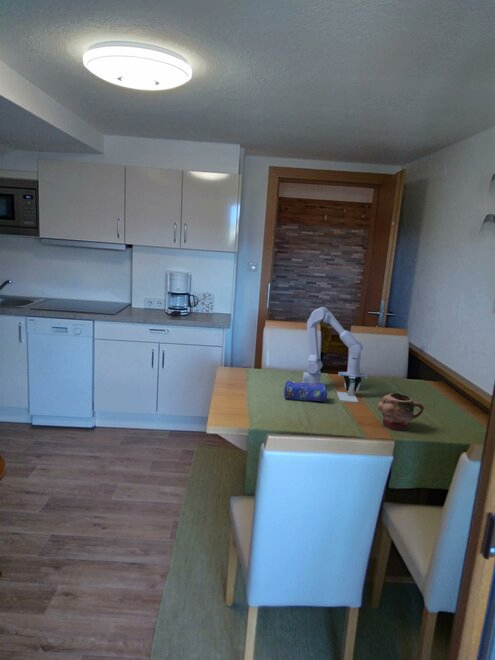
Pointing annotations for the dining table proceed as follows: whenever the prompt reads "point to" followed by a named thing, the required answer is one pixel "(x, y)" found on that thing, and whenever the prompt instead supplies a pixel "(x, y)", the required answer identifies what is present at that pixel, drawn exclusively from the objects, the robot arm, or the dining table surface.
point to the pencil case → (305, 391)
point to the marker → (351, 387)
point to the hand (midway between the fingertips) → (350, 390)
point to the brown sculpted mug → (398, 410)
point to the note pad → (346, 397)
